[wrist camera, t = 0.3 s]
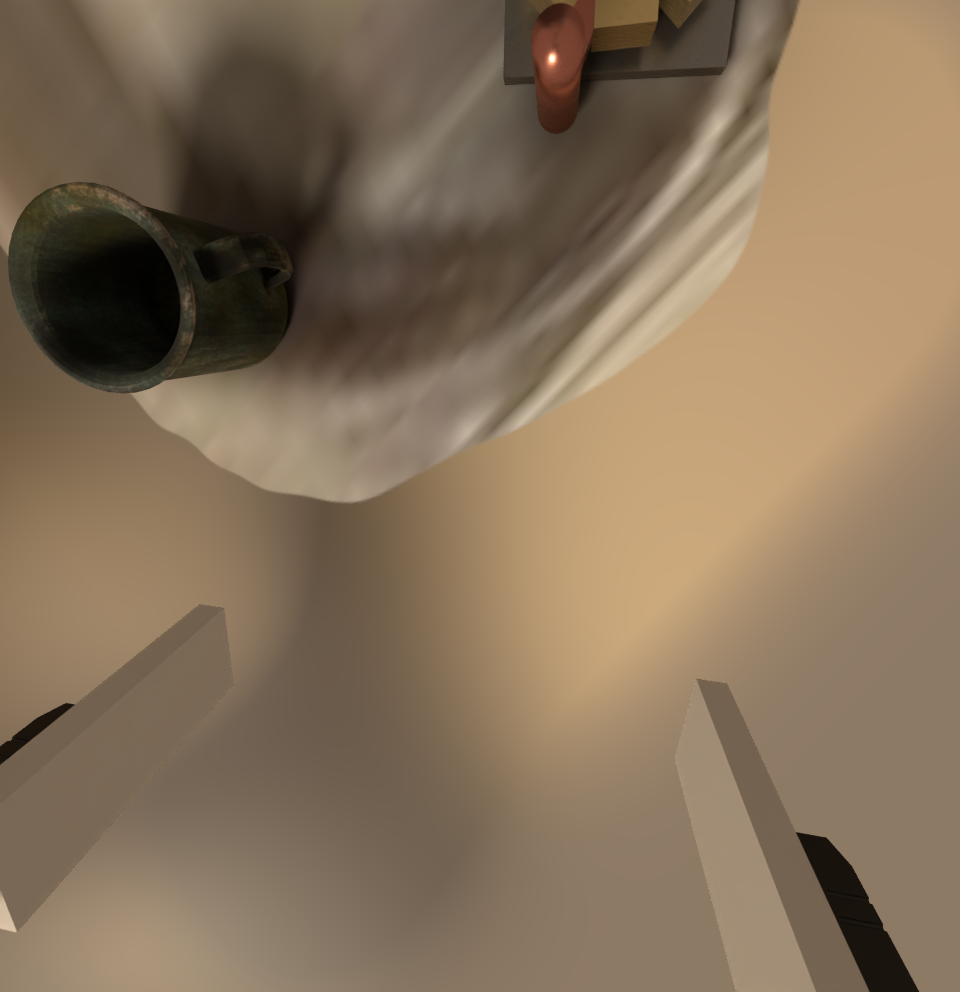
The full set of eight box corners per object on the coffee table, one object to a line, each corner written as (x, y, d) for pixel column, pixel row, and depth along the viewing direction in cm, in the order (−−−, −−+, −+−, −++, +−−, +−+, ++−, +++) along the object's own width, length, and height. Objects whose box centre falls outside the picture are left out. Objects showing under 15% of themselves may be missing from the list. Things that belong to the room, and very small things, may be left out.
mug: (138, 254, 39) (-32, 227, 28) (301, 181, 35) (183, 117, 24) (201, 391, 42) (71, 416, 31) (357, 336, 38) (275, 341, 27)
